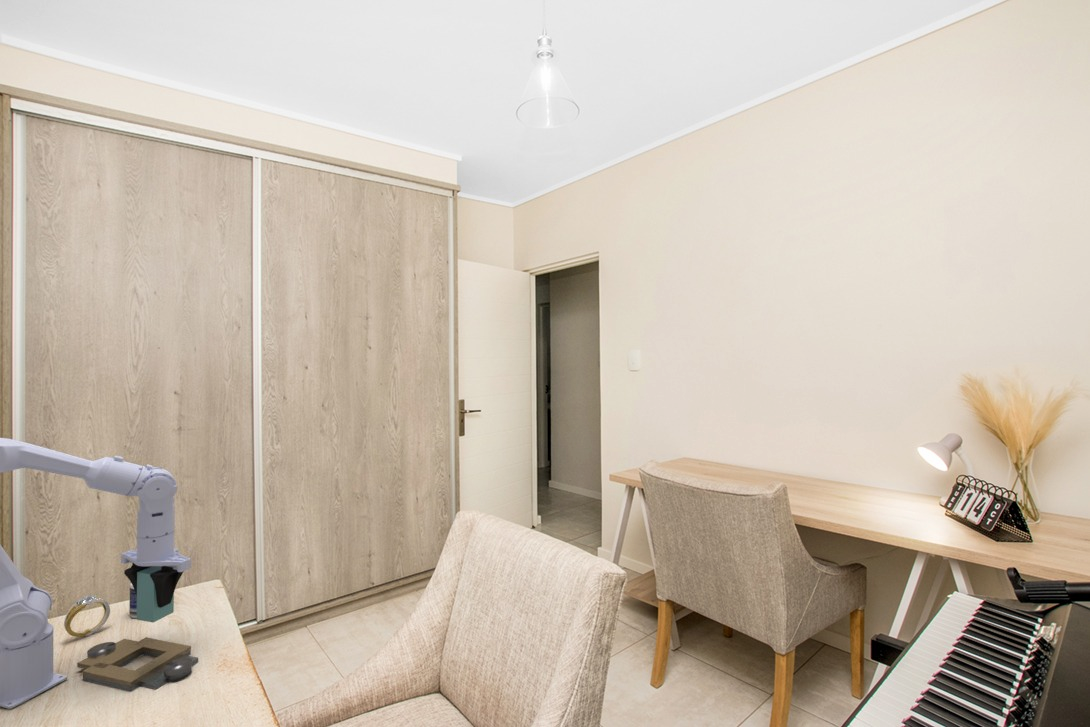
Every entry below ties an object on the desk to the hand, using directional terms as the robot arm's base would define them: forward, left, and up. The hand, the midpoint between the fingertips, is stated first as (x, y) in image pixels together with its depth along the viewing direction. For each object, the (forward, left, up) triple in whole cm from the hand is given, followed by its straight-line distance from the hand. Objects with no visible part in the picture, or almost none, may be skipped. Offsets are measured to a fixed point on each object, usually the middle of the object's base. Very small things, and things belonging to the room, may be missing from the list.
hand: (155, 603), depth 96 cm
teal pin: (0, 0, -2) cm, 2 cm away
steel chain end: (+5, -4, -9) cm, 11 cm away
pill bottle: (-16, +11, -10) cm, 22 cm away
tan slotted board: (-1, -4, -9) cm, 10 cm away
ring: (-18, +1, -10) cm, 21 cm away
